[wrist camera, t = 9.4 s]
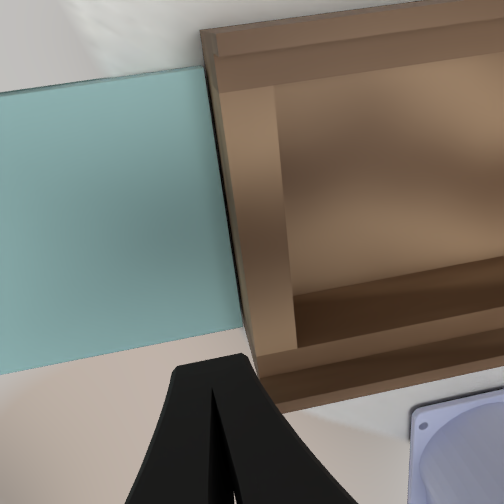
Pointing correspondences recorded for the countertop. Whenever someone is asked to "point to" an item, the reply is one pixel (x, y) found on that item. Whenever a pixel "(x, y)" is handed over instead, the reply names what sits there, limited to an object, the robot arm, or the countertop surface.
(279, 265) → the walnut box
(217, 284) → the cover plate
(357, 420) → the countertop surface
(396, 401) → the countertop surface
